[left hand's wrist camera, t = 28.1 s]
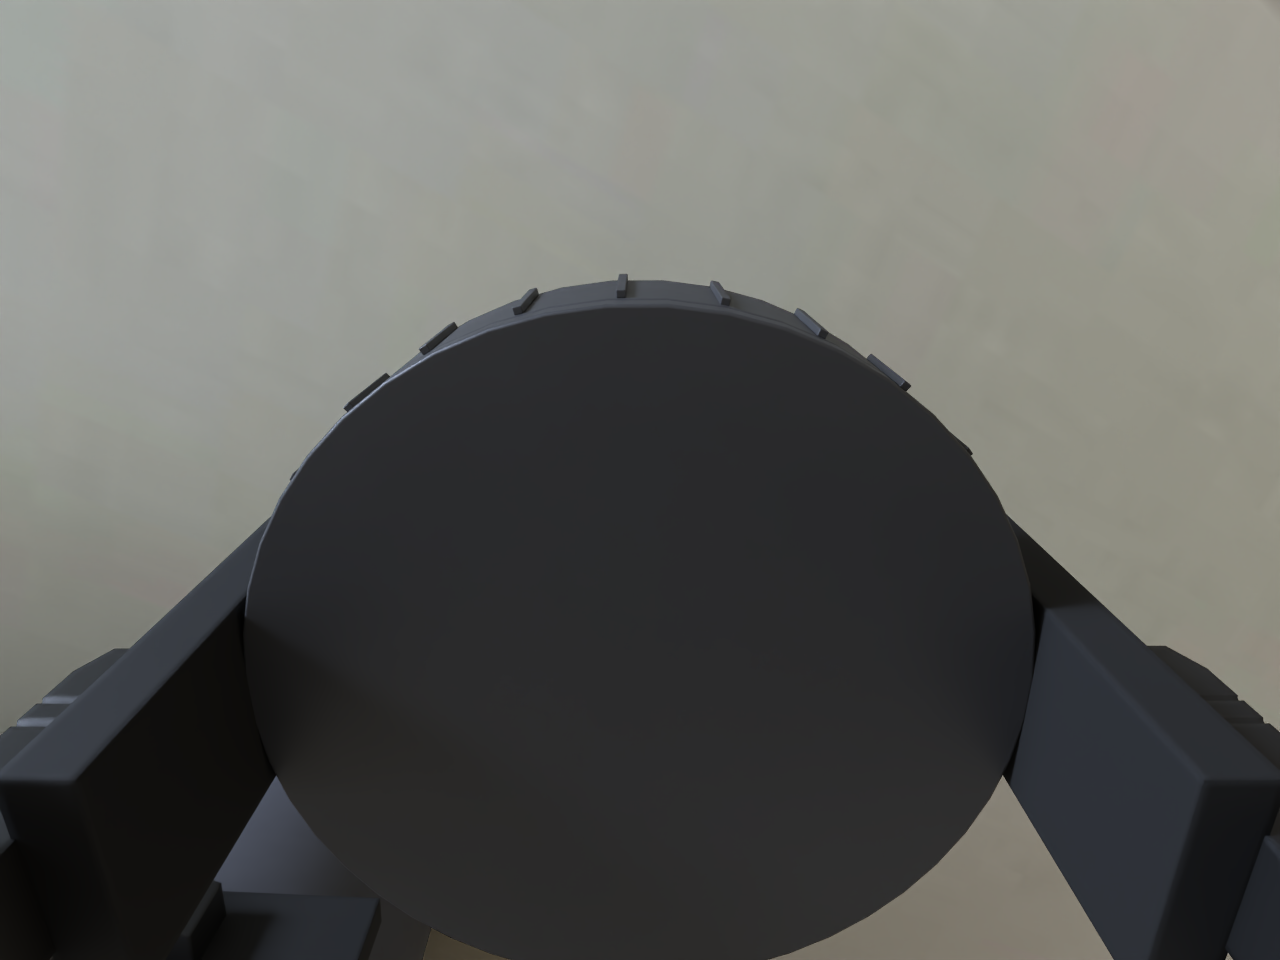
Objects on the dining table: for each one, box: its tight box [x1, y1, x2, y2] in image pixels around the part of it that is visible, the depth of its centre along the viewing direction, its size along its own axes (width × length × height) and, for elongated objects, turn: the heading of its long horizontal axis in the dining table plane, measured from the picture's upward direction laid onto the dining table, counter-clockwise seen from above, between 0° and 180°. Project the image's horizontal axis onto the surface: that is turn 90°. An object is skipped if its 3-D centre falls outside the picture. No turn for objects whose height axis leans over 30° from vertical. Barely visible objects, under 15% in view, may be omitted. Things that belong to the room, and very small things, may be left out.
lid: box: [243, 274, 1036, 960], centre depth 11 cm, size 10×10×2 cm
